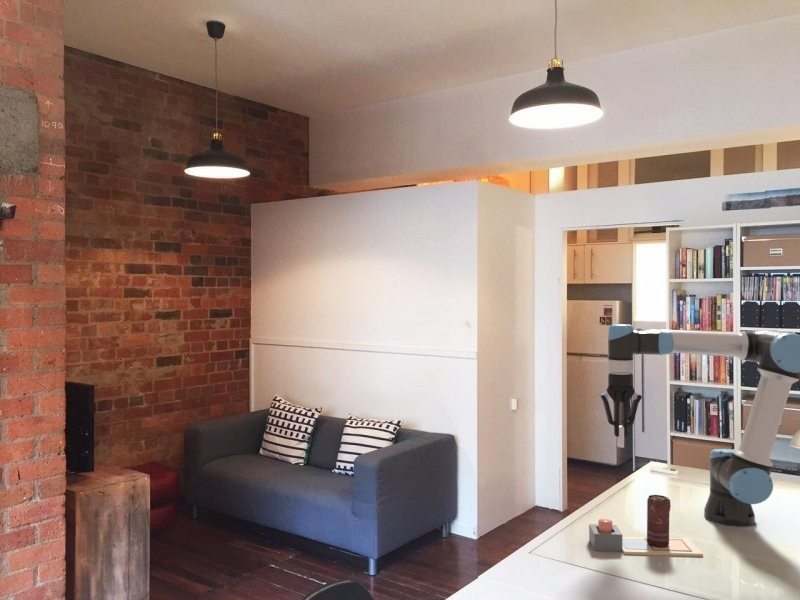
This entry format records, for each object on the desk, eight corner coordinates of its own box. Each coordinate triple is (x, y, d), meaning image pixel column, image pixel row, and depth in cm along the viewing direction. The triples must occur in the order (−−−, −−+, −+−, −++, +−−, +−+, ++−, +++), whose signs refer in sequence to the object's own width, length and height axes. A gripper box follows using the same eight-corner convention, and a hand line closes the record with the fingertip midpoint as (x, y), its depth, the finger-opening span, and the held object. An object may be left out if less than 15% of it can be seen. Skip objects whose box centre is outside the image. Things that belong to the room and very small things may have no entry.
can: (671, 549, 194) (672, 501, 194) (648, 547, 195) (648, 499, 195) (668, 541, 200) (668, 495, 199) (645, 539, 201) (646, 493, 201)
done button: (610, 533, 201) (610, 518, 201) (613, 538, 197) (613, 523, 197) (597, 533, 201) (597, 518, 201) (599, 538, 197) (599, 523, 197)
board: (688, 540, 202) (688, 537, 202) (703, 556, 191) (703, 553, 190) (614, 538, 204) (614, 535, 204) (624, 554, 192) (624, 551, 192)
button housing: (616, 541, 202) (616, 524, 202) (622, 551, 194) (622, 534, 194) (589, 540, 203) (589, 524, 203) (594, 550, 195) (594, 533, 195)
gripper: (638, 371, 215) (638, 444, 216) (597, 371, 217) (597, 443, 217) (644, 374, 208) (644, 449, 208) (602, 374, 209) (602, 449, 210)
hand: (620, 446), depth 213 cm, fingers closed
